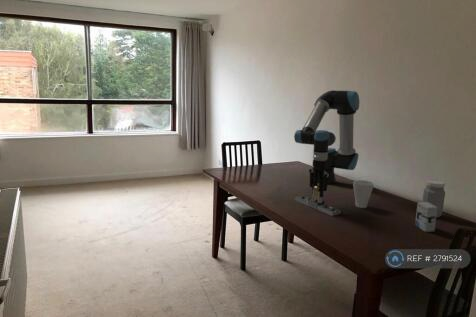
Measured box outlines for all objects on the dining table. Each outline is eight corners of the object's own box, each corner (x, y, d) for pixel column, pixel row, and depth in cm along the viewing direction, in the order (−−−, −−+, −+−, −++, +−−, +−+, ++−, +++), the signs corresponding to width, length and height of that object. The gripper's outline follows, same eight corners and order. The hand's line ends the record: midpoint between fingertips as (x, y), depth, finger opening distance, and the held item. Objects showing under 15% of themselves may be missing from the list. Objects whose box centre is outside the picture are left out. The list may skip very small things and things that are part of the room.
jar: (417, 211, 192) (421, 179, 189) (435, 212, 192) (440, 179, 188) (426, 218, 183) (430, 184, 179) (445, 218, 182) (450, 184, 179)
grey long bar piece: (294, 200, 206) (295, 194, 205) (303, 198, 209) (303, 192, 208) (331, 216, 182) (332, 209, 181) (340, 213, 185) (341, 207, 185)
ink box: (414, 224, 173) (417, 201, 170) (423, 224, 173) (427, 201, 171) (424, 231, 164) (428, 207, 162) (434, 231, 165) (438, 207, 163)
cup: (361, 210, 191) (363, 186, 189) (347, 204, 200) (349, 181, 198) (375, 207, 196) (377, 184, 193) (360, 202, 205) (363, 179, 203)
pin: (316, 204, 199) (318, 184, 196) (323, 206, 195) (324, 187, 192) (310, 205, 196) (311, 185, 194) (316, 207, 192) (317, 188, 190)
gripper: (304, 157, 195) (301, 198, 200) (326, 163, 182) (322, 207, 186) (314, 156, 199) (311, 196, 204) (336, 161, 185) (333, 204, 190)
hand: (317, 201), depth 195 cm, fingers closed on pin, 3 cm apart
